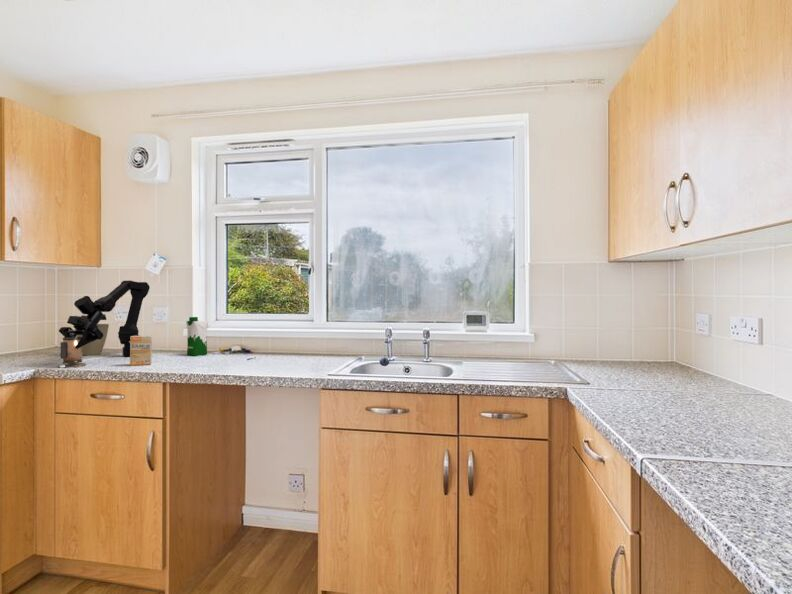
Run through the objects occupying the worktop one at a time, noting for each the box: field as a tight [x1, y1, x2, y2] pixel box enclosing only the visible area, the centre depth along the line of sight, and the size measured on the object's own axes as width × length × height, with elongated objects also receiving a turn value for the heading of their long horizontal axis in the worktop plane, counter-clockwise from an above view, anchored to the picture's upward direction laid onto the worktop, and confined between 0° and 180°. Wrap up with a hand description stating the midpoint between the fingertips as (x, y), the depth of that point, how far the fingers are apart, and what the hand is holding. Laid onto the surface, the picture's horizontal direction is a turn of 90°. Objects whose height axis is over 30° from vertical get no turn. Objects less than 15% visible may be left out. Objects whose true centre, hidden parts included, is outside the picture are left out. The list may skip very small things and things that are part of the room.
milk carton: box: [185, 316, 209, 357], centre depth 228 cm, size 9×9×20 cm
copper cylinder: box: [59, 333, 83, 365], centre depth 192 cm, size 8×7×13 cm
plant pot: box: [74, 323, 110, 356], centre depth 230 cm, size 15×15×16 cm
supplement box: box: [129, 335, 153, 367], centre depth 196 cm, size 8×5×13 cm, turn 115°
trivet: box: [62, 362, 87, 368], centre depth 192 cm, size 10×10×1 cm
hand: (69, 347), depth 191 cm, fingers closed on copper cylinder, 7 cm apart
